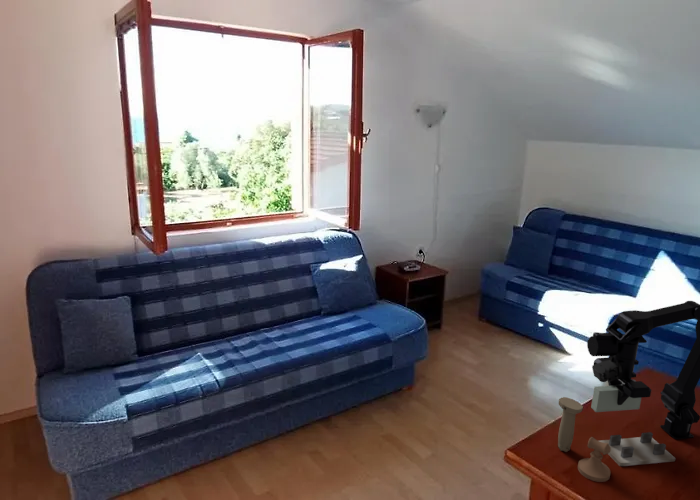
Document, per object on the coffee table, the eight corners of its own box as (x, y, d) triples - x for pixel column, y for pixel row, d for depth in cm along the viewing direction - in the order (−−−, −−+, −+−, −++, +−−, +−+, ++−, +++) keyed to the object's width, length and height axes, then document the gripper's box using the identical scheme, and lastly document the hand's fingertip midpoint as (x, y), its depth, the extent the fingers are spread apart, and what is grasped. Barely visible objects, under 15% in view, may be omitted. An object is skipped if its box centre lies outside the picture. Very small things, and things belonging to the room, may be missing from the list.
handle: (568, 457, 146) (575, 411, 142) (548, 445, 152) (555, 400, 148) (578, 452, 149) (586, 406, 145) (559, 440, 154) (566, 395, 150)
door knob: (589, 427, 144) (619, 440, 139) (583, 457, 147) (613, 471, 142) (578, 440, 138) (609, 454, 133) (573, 471, 141) (604, 486, 136)
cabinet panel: (650, 439, 155) (652, 427, 154) (674, 461, 146) (677, 449, 145) (598, 443, 153) (600, 431, 152) (619, 466, 143) (622, 454, 142)
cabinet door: (633, 404, 157) (637, 383, 155) (639, 409, 155) (643, 388, 153) (591, 407, 156) (594, 386, 154) (595, 412, 153) (599, 391, 151)
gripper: (581, 341, 158) (574, 387, 162) (619, 372, 140) (610, 422, 145) (614, 340, 160) (606, 385, 164) (657, 370, 142) (647, 419, 146)
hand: (616, 402), depth 155 cm, fingers closed on cabinet door, 2 cm apart
